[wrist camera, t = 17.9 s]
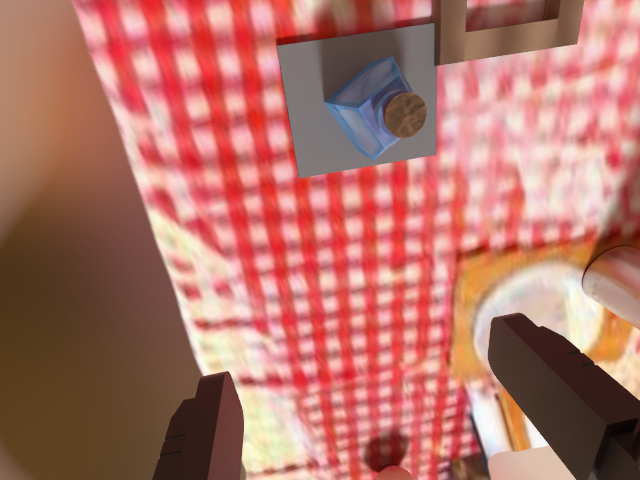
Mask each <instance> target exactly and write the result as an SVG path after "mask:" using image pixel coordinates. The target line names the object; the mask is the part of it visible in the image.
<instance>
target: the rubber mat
mask: <svg viewBox="0 0 640 480" xmlns="http://www.w3.org/2000/svg"><path fill="white" fill-rule="evenodd" d="M277 50H278V56H279V62H280V68H281V74H282V80H283V85H284V91H285V97H286V103H287V109H288V115H289V121H290V127H291V133H292V139H293V145H294V151H295V156H296V162H297V168H298V174H299V178H303V177H309V176H315V175H320V174H326V173H332V172H338V171H344V170H350V169H355V168H361V167H367V166H373V165H379V164H385V163H390V162H396V161H402V160H408V159H414V158H419V157H425V156H431V155H436V103H437V66H434V23H431V24H424V25H417V26H410V27H403V28H396V29H390V30H383V31H376V32H369V33H362V34H355V35H348V36H342V37H335V38H328V39H321V40H314V41H307V42H301V43H294V44H287V45H280V46H277ZM390 56H393V57H394V59H395V61H396V62H397V64H398V66H399V68H400V69H401V71H402V73H403V75H404V76H405V78H406V80H407V82H408V83H409V85H410V87H411V89H412V90H413V92H414V93H415V94H417V95H418V96H420V97H421V98H422V100H423V101H424V102H425V105H426V108H427V117H428V118H427V119H426V121H425V123H424V125H423V127H422V129H421V130H420V131H419V132H418V133H417V134H415V135H413V136H412V137H408V138H401V139H400V140H399V141H397V142H396V143H395V144H394V145H392V146H391V147H390V148H388V149H387V150H386V151H385V152H383V153H382V154H381V155H380V156H378V157H377V158H376V159H374V160H371V159H370V158H368V157H367V156H366V155H364V154H363V153H361V152H360V151H358V150H357V148H356V147H355V146H354V144H353V143H352V141H351V140H350V138H349V137H348V136H347V134H346V133H345V131H344V130H343V128H342V127H341V126H340V124H339V123H338V121H337V120H336V119H335V117H334V116H333V114H332V113H331V111H330V110H329V109H328V107H327V106H326V104H325V103H324V102H325V101H326V100H327V99H329V98H330V97H331V96H332V95H333V94H335V93H336V92H337V91H338V90H339V89H340V88H342V87H343V86H344V85H345V84H346V83H348V82H349V81H350V80H351V79H352V78H354V77H355V76H356V75H357V74H358V73H359V72H361V71H362V70H363V69H364V68H365V67H367V66H368V65H369V64H370V63H371V62H372V61H376V60H380V59H383V58H387V57H390Z"/></svg>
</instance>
